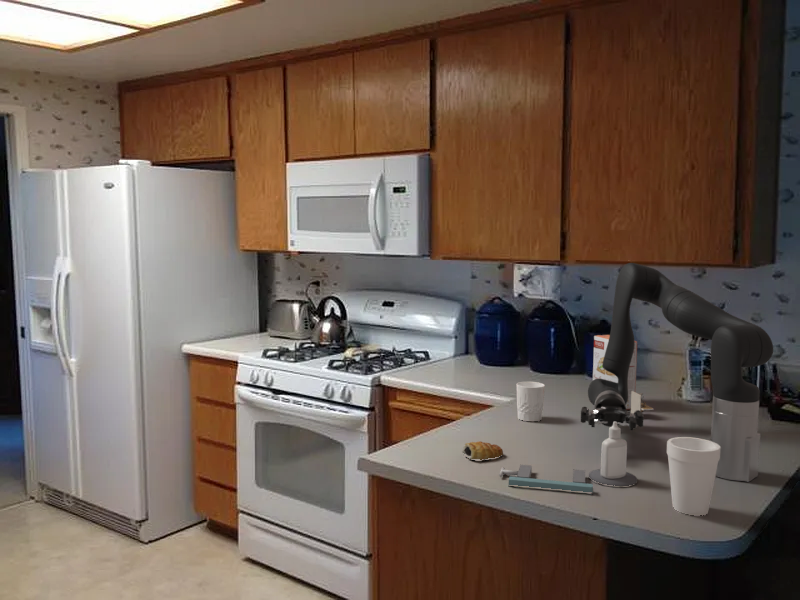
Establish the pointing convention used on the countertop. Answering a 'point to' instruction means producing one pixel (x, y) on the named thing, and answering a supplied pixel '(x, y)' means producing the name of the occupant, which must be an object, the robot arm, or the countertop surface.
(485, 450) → the pastry
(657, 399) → the countertop surface
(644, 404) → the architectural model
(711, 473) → the foam cup
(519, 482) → the vise
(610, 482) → the mat
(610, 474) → the eye dropper bottle
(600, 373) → the cracker box
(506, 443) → the countertop surface
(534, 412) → the white cup
